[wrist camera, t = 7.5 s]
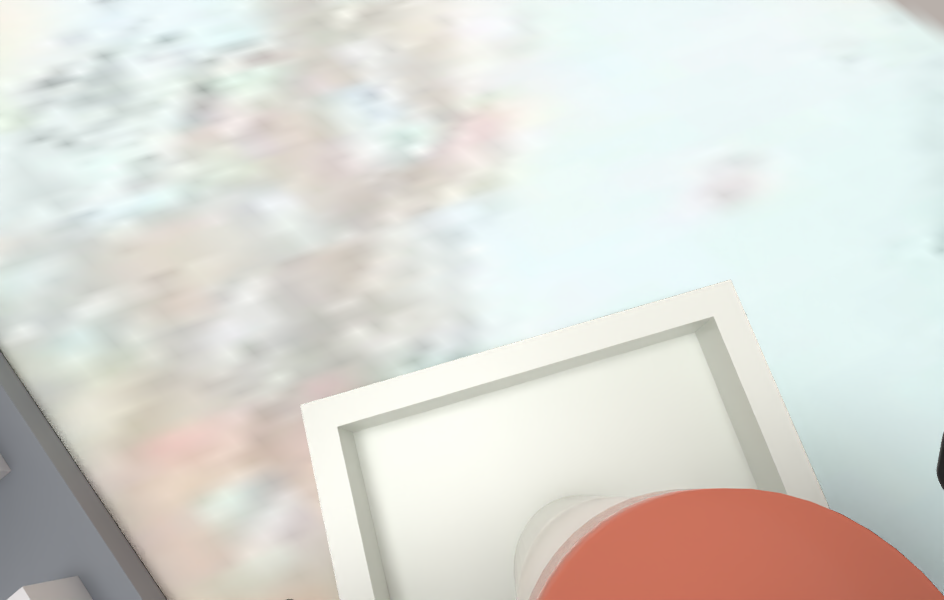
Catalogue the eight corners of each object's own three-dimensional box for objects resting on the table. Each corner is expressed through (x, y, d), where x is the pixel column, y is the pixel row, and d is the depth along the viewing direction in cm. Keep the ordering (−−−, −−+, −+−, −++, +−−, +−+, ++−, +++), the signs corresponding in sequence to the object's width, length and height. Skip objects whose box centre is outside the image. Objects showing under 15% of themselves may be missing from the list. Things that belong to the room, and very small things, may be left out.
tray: (882, 741, 16) (950, 786, 13) (427, 885, 15) (412, 957, 13) (702, 306, 19) (730, 279, 17) (326, 416, 19) (300, 404, 16)
